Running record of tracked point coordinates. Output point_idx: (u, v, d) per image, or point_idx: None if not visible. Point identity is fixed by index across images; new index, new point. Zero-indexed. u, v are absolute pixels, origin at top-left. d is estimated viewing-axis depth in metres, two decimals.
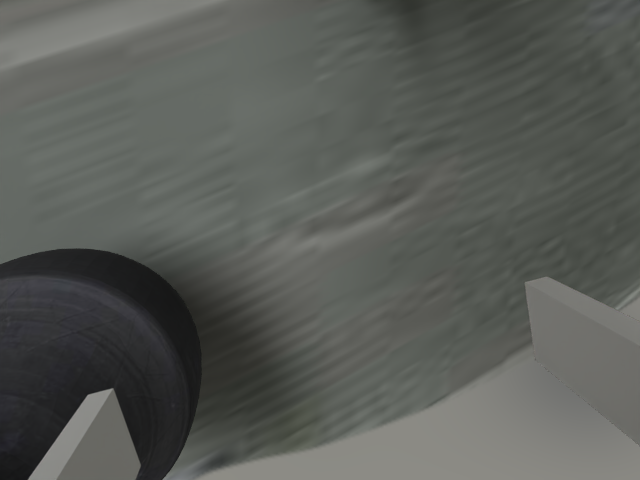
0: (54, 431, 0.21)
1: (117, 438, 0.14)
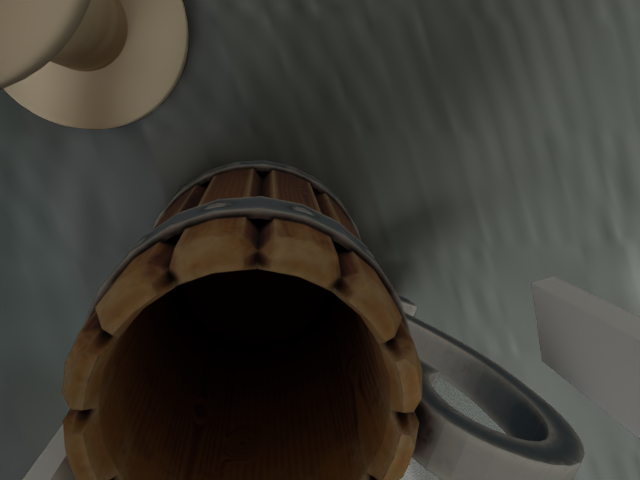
0: None
1: None
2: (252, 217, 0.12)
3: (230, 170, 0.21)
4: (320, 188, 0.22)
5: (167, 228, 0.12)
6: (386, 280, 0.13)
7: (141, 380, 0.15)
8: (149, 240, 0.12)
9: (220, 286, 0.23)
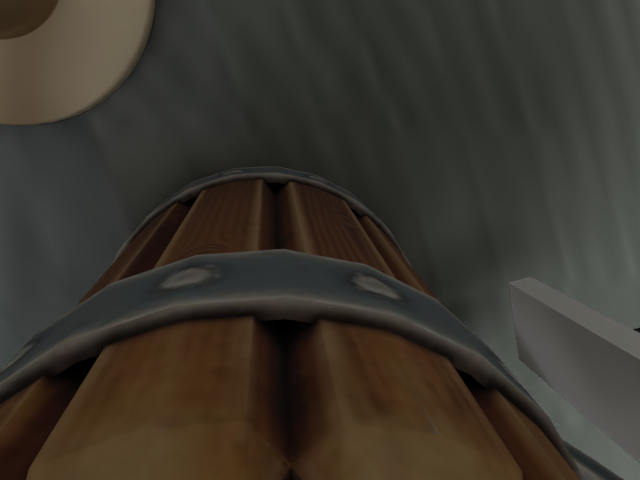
0: None
1: None
2: (268, 317, 0.05)
3: (227, 181, 0.14)
4: (360, 209, 0.15)
5: (62, 344, 0.05)
6: (562, 447, 0.06)
7: None
8: (18, 372, 0.05)
9: None
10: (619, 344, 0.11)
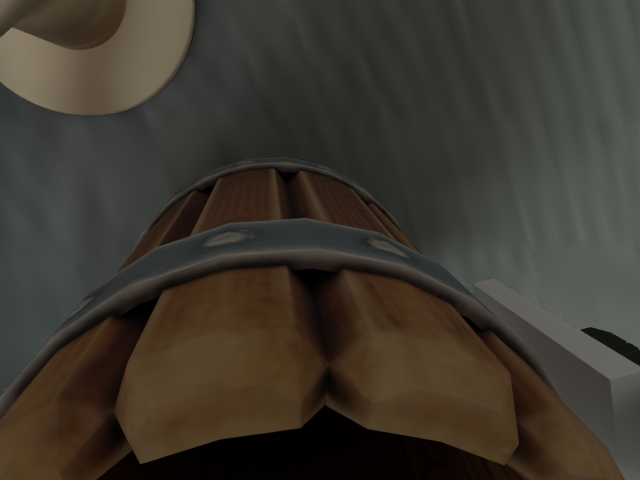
0: None
1: None
2: (299, 267, 0.06)
3: (242, 170, 0.15)
4: (366, 196, 0.16)
5: (127, 289, 0.06)
6: (548, 383, 0.07)
7: None
8: (90, 313, 0.06)
9: None
10: (563, 343, 0.11)
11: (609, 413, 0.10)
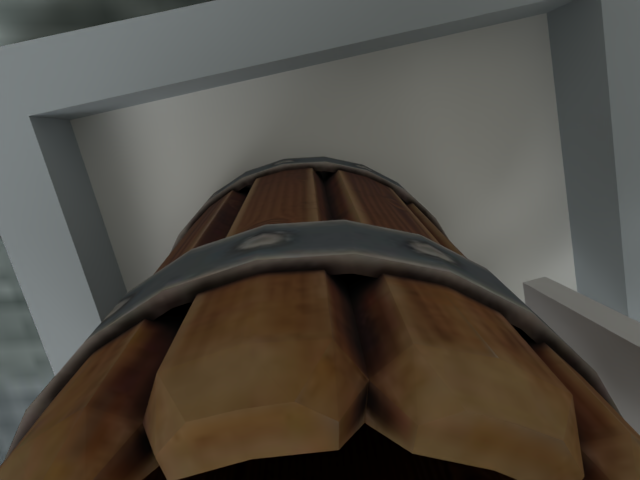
0: None
1: None
2: (337, 271, 0.06)
3: (279, 170, 0.15)
4: (406, 196, 0.15)
5: (161, 292, 0.06)
6: (610, 402, 0.06)
7: None
8: (124, 316, 0.06)
9: None
10: None
11: None
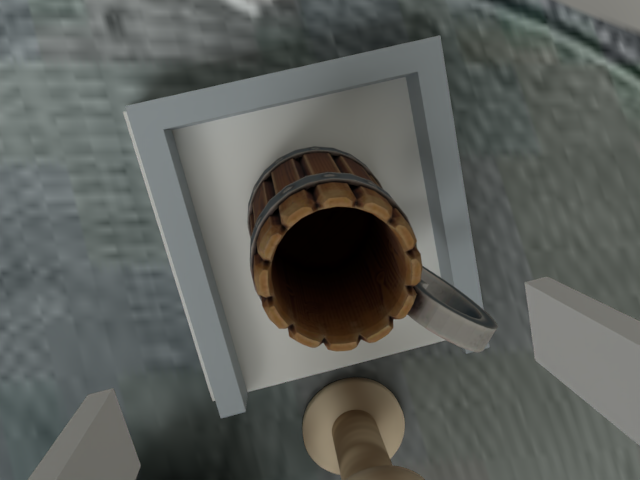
0: None
1: (117, 438, 0.14)
2: (349, 183, 0.24)
3: (314, 152, 0.33)
4: (368, 171, 0.34)
5: (308, 183, 0.24)
6: (410, 225, 0.25)
7: None
8: (298, 188, 0.24)
9: (292, 226, 0.36)
10: None
11: None
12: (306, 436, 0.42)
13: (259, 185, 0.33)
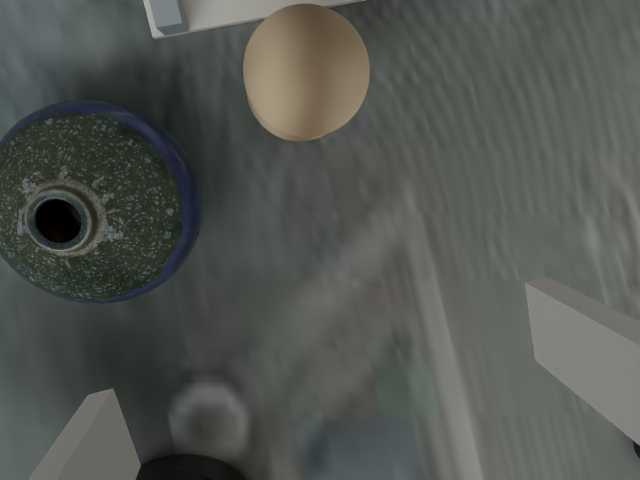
0: None
1: (117, 438, 0.14)
2: None
3: None
4: None
5: None
6: None
7: None
8: None
9: None
10: None
11: None
12: None
13: None
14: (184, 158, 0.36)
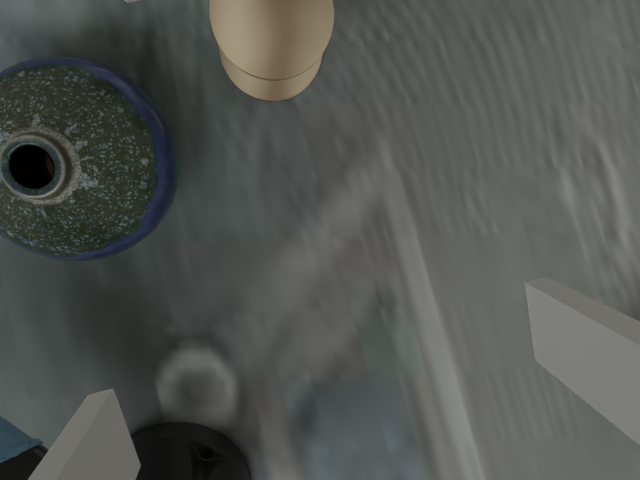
0: None
1: (117, 438, 0.14)
2: None
3: None
4: None
5: None
6: None
7: None
8: None
9: None
10: None
11: None
12: (222, 49, 0.41)
13: None
14: (158, 112, 0.36)
